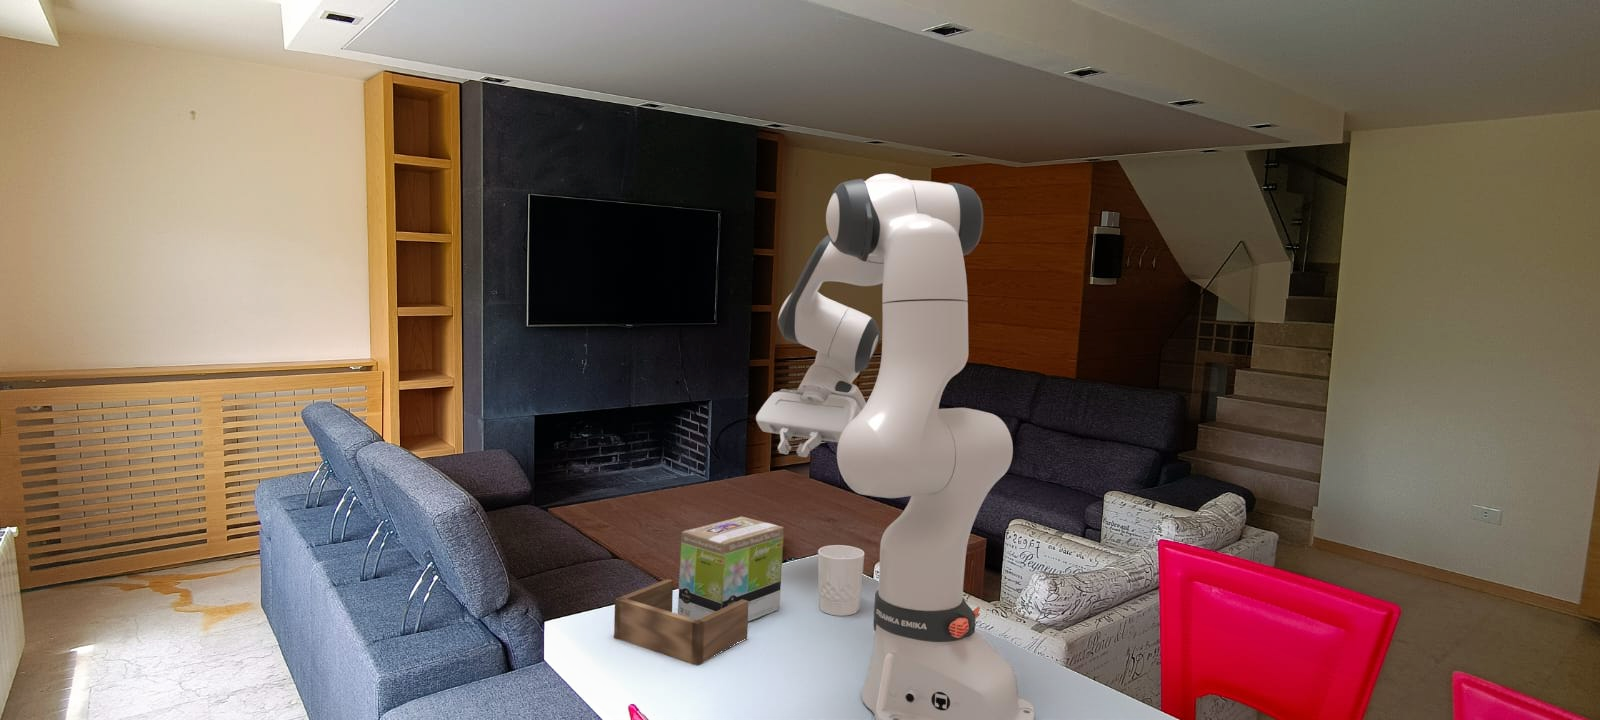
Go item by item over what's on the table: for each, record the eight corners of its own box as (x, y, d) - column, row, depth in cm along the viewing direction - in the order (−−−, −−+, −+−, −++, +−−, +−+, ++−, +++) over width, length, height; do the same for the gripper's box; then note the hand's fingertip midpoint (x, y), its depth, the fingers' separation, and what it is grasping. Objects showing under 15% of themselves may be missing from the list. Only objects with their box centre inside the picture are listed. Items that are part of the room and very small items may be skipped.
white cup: (806, 609, 148) (809, 552, 147) (831, 597, 154) (834, 542, 153) (846, 621, 143) (848, 561, 142) (870, 608, 150) (873, 551, 149)
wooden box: (747, 638, 134) (748, 600, 134) (697, 665, 124) (698, 624, 124) (666, 614, 143) (667, 578, 143) (614, 637, 133) (614, 599, 133)
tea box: (722, 636, 135) (724, 542, 134) (676, 619, 141) (678, 530, 140) (782, 610, 147) (785, 524, 146) (737, 596, 153) (740, 513, 152)
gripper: (769, 377, 164) (736, 435, 156) (865, 387, 153) (835, 449, 146) (781, 399, 168) (750, 456, 161) (876, 410, 157) (847, 472, 150)
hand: (791, 453), depth 153 cm, fingers open, 3 cm apart
